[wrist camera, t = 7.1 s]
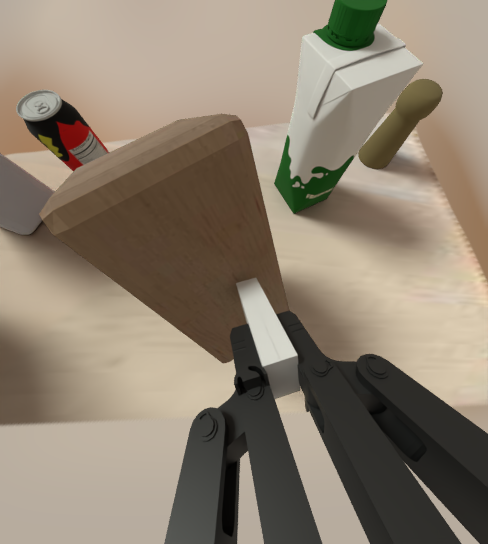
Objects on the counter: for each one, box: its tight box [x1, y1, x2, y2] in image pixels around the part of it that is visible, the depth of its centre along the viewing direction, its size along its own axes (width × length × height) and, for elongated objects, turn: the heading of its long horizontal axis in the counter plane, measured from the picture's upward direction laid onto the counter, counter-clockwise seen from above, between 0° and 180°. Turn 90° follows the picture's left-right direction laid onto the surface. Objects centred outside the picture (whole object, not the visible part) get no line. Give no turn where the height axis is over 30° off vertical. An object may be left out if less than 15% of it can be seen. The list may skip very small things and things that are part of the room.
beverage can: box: [16, 90, 110, 171], centre depth 28 cm, size 6×6×12 cm
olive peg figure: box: [358, 79, 443, 169], centre depth 30 cm, size 6×6×11 cm
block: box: [39, 114, 289, 363], centre depth 18 cm, size 10×10×20 cm
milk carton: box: [274, 0, 423, 213], centre depth 24 cm, size 9×9×20 cm
